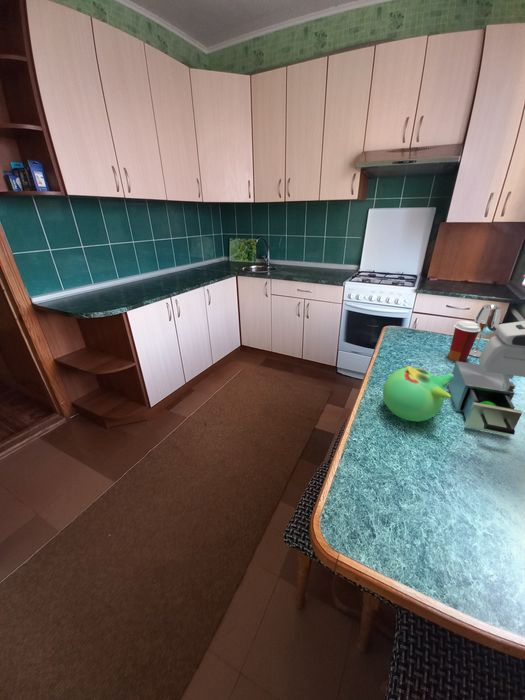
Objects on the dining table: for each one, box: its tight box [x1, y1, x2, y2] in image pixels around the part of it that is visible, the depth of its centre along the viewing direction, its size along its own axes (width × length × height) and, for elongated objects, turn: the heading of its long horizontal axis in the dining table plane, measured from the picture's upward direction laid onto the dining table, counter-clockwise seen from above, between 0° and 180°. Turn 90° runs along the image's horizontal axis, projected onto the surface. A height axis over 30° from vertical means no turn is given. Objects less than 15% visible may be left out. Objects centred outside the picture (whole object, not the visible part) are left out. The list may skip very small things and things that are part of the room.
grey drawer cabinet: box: [447, 361, 515, 413], centre depth 89 cm, size 15×12×10 cm
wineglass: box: [468, 304, 502, 358], centre depth 115 cm, size 8×8×20 cm
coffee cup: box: [448, 320, 481, 363], centre depth 112 cm, size 8×8×15 cm
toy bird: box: [382, 365, 454, 422], centre depth 84 cm, size 18×17×15 cm
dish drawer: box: [461, 388, 523, 437], centre depth 80 cm, size 19×10×8 cm, turn 159°
